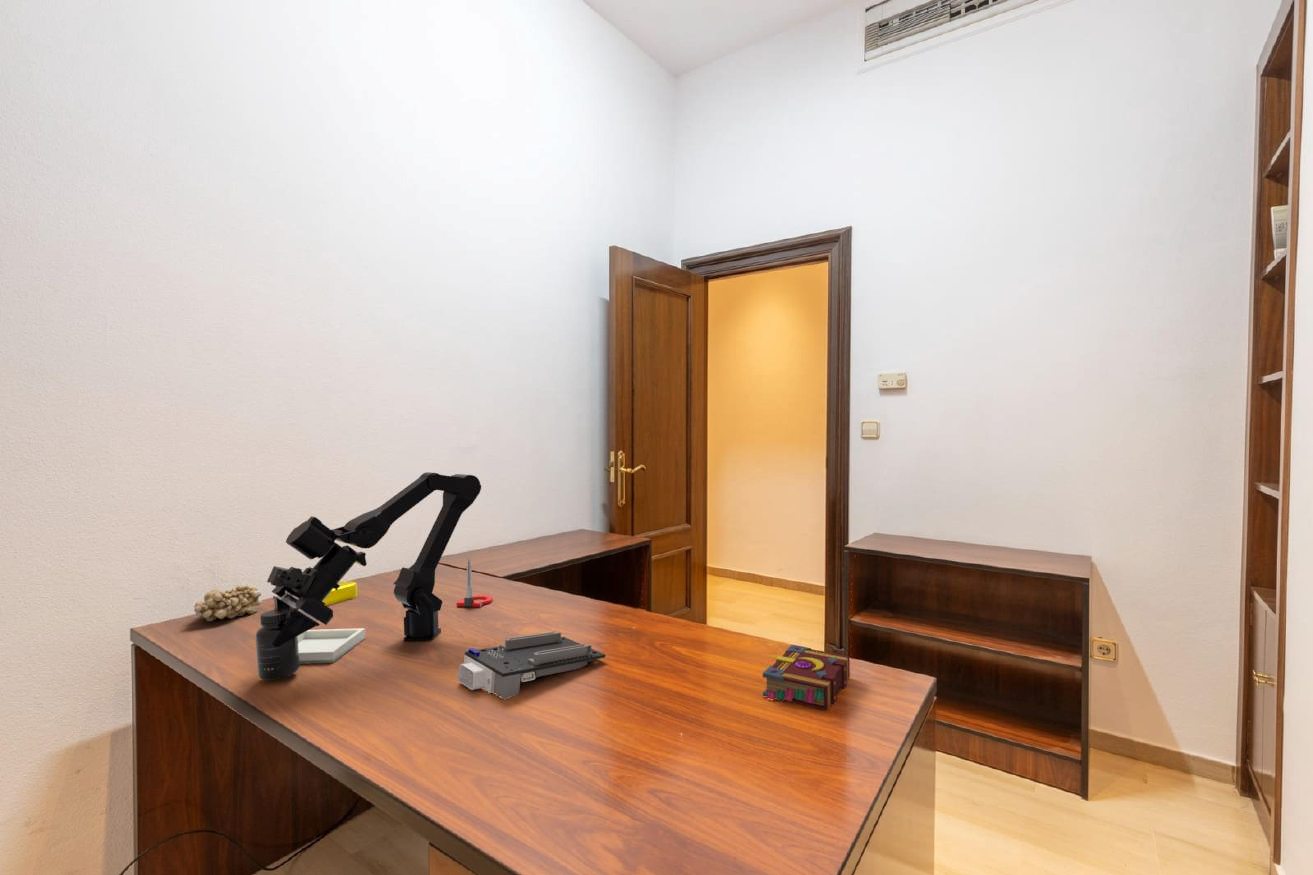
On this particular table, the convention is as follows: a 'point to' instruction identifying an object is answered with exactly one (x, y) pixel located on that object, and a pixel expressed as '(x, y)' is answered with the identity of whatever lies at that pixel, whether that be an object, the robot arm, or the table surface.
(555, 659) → the circuit board
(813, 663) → the decorative book
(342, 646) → the ceramic tray
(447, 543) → the robot arm
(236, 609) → the mineral formation
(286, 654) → the supplement bottle
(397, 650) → the table surface
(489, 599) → the tow hook
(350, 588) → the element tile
